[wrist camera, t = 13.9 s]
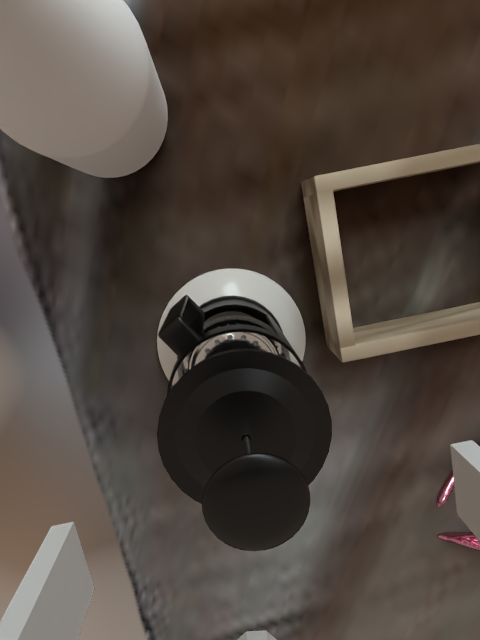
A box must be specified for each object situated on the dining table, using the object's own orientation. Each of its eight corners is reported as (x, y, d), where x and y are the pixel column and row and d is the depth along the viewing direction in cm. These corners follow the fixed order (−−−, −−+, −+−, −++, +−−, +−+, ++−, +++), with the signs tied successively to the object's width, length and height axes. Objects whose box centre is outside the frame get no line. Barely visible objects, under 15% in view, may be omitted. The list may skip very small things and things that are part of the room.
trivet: (142, 284, 38) (141, 285, 38) (291, 254, 39) (292, 255, 38) (175, 423, 41) (175, 426, 41) (314, 394, 41) (316, 396, 41)
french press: (311, 355, 40) (438, 520, 18) (233, 424, 41) (260, 664, 18) (221, 257, 38) (234, 303, 15) (140, 332, 39) (42, 479, 16)
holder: (301, 182, 38) (314, 176, 33) (502, 143, 38) (545, 130, 33) (326, 346, 41) (342, 362, 36) (513, 308, 41) (554, 319, 36)
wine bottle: (77, 25, 34) (-714, -1166, 5) (189, 92, 36) (88, -531, 6) (27, 141, 36) (-822, -254, 6) (136, 200, 37) (-146, 101, 8)
